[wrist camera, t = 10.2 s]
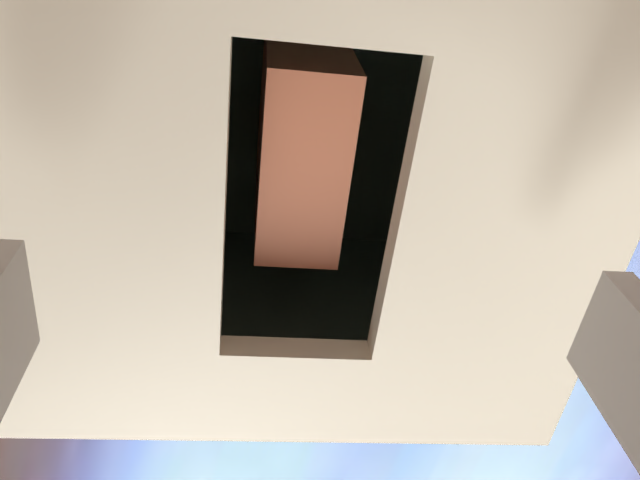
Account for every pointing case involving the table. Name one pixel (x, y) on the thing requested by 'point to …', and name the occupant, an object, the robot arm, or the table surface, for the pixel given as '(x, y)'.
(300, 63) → the pink rectangular block
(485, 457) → the table surface
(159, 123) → the pale green white box
